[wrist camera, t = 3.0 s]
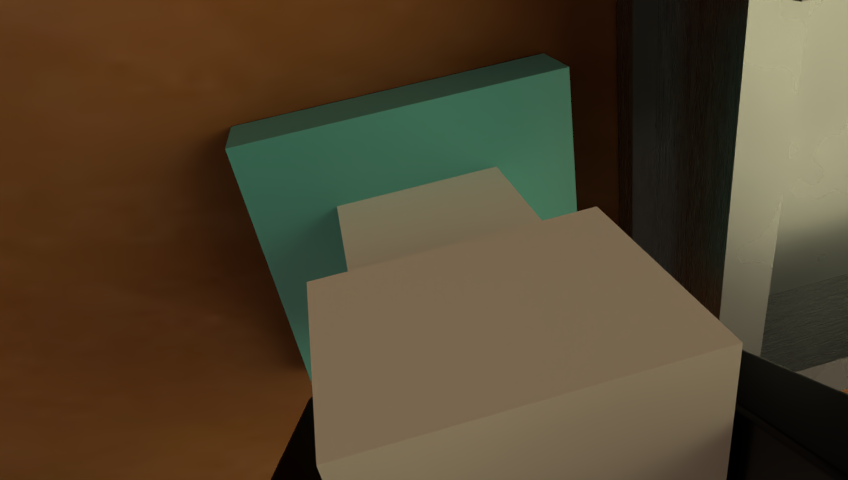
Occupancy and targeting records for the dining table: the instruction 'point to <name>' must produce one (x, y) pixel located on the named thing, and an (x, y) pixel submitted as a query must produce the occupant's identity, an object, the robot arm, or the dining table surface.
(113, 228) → the dining table surface
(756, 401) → the robot arm
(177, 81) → the dining table surface
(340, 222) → the slider
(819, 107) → the keyhole guide
